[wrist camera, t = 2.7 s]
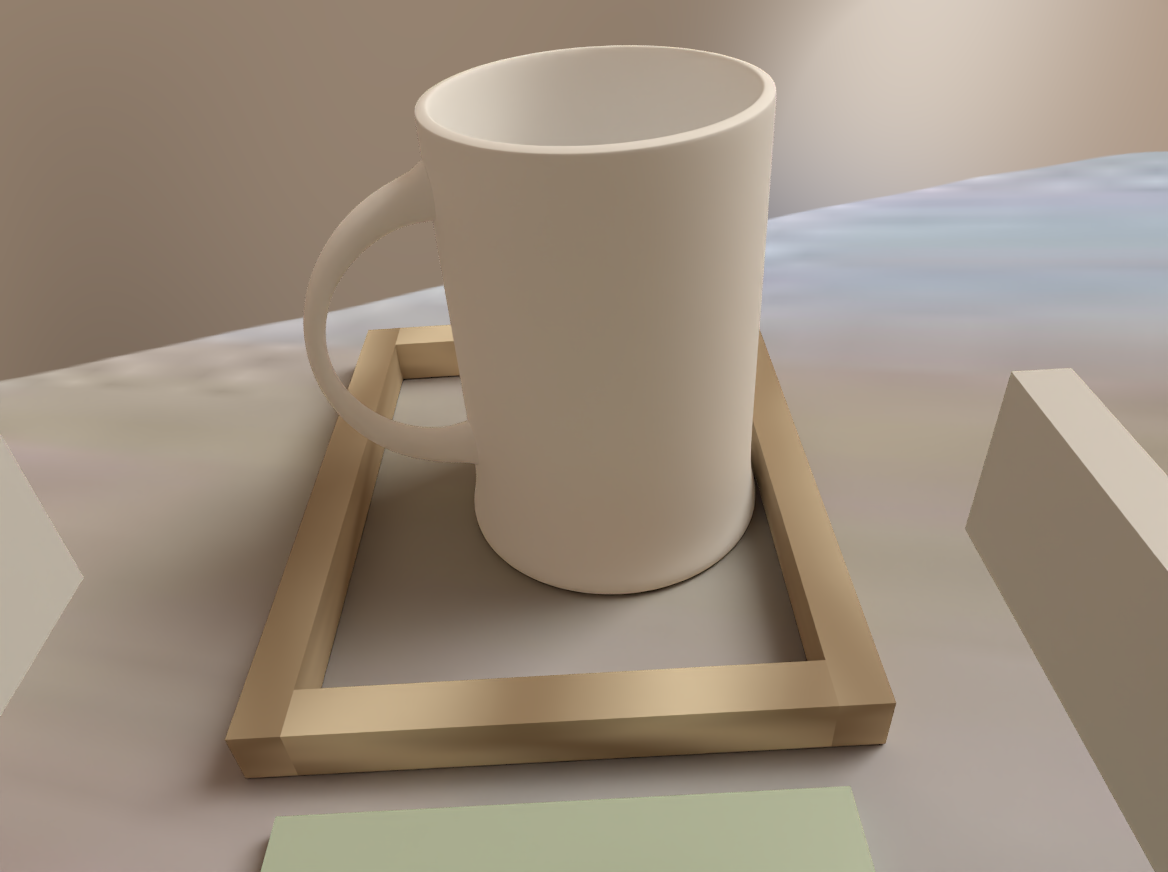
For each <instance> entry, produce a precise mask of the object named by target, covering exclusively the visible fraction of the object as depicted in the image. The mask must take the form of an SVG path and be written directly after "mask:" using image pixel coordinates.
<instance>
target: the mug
mask: <svg viewBox="0 0 1168 872" xmlns="http://www.w3.org/2000/svg"><path fill="white" fill-rule="evenodd" d="M775 109H776V86H775V83H774V81H773V80H772V78H771V77H770V76H769V75H768V74H767V73H765V72H764V71H763V70H761V69H759V68H758V67H756V66H754V65H752V64H750V63H747V62H745V61H742V60H739V59H736V58H733V57H729V56H725V55H721V54H717V53H712V52H707V51H700V50H694V49H686V48H677V47H663V46H639V45H637V46H636V45H630V46H629V45H625V46H623V45H621V46H595V47H581V48H570V49H561V50H553V51H546V52H540V53H533V54H527V55H522V56H517V57H512V58H508V59H503V60H499V61H495V62H491V63H488V64H484V65H481V66H478V67H475V68H472V69H469V70H466V71H463V72H461V73H458V74H456V75H454V76H452V77H449V78H447V79H445V80H443V81H441V82H439V83H438V84H436V85H434V86H433V87H431V88H430V89H429V90H427V91H426V92H425V93H424V94H423V95H422V96H421V97H420V98H419V99H418V101H417V103H416V106H415V109H414V116H415V123H416V130H417V136H418V141H419V147H420V152H421V158H422V161H419V162H418V163H417V164H416V166H415V167H414V168H412V169H411V170H410V171H408V172H407V173H405V174H403V175H402V176H400V177H398V178H396V179H394V180H393V181H391V182H389V183H388V184H386V185H385V186H383V187H381V188H379V189H378V190H377V191H375V192H374V193H372V194H371V195H370V196H368V197H367V198H366V199H365V200H363V201H362V202H361V203H360V204H359V205H357V207H355V208H354V209H353V210H352V211H351V212H350V213H349V214H348V215H347V216H346V217H345V218H344V220H343V221H342V222H341V223H340V224H339V225H338V227H337V228H336V229H335V231H334V232H333V234H332V235H331V236H330V238H329V239H328V241H327V242H326V244H325V246H324V248H323V249H322V251H321V253H320V255H319V257H318V259H317V261H316V264H315V266H314V269H313V271H312V274H311V277H310V280H309V284H308V288H307V292H306V297H305V305H304V319H303V324H304V339H305V345H306V351H307V355H308V359H309V362H310V366H311V368H312V371H313V374H314V376H315V378H316V381H317V383H318V385H319V387H320V389H321V390H322V392H323V394H324V395H325V397H326V398H327V400H328V401H329V403H330V404H331V406H332V407H333V408H334V409H335V411H336V412H337V413H338V414H339V415H340V416H341V417H342V418H343V419H344V420H345V421H346V422H347V423H348V424H349V425H350V426H351V427H353V428H354V429H355V430H356V431H358V432H359V433H360V434H362V435H363V436H365V437H366V438H368V439H369V440H371V441H373V442H374V443H376V444H378V445H380V446H382V447H384V448H386V449H389V450H391V451H394V452H396V453H399V454H402V455H405V456H409V457H413V458H417V459H422V460H428V461H436V462H454V463H471V464H475V469H476V486H475V496H474V504H475V513H476V517H477V521H478V524H479V527H480V529H481V531H482V533H483V535H484V537H485V539H486V540H487V542H488V543H489V545H490V546H491V547H492V548H493V550H494V551H495V552H496V553H497V554H498V555H499V556H500V557H501V558H502V559H503V560H505V561H506V562H507V563H508V564H510V565H511V566H512V567H514V568H515V569H517V570H518V571H520V572H522V573H523V574H525V575H527V576H529V577H531V578H533V579H535V580H538V581H540V582H543V583H545V584H548V585H551V586H555V587H558V588H562V589H566V590H571V591H576V592H583V593H592V594H628V593H637V592H644V591H649V590H654V589H658V588H662V587H666V586H669V585H672V584H675V583H678V582H681V581H683V580H686V579H688V578H690V577H693V576H695V575H697V574H699V573H700V572H702V571H704V570H706V569H707V568H709V567H711V566H712V565H713V564H715V563H716V562H718V561H719V560H720V559H721V558H723V557H724V556H725V555H726V554H727V553H728V552H729V551H730V550H731V549H732V548H733V547H734V546H735V545H736V544H737V542H738V541H739V540H740V539H741V537H742V536H743V534H744V532H745V531H746V529H747V527H748V525H749V523H750V520H751V518H752V514H753V511H754V506H755V496H756V492H755V481H754V476H753V472H752V468H751V438H752V422H753V408H754V394H755V380H756V367H757V353H758V340H759V326H760V313H761V299H762V286H763V272H764V259H765V245H766V232H767V218H768V204H769V191H770V178H771V164H772V150H773V138H774V124H775V123H774V122H775ZM427 221H433V225H434V232H435V238H436V243H437V249H438V255H439V260H440V266H441V271H442V277H443V282H444V289H445V294H446V300H447V306H448V311H449V317H450V323H451V328H452V334H453V340H454V345H455V351H456V357H457V362H458V368H459V374H460V379H461V385H462V391H463V396H464V402H465V408H466V413H467V419H468V421H465V422H461V423H458V424H455V425H450V426H445V427H419V426H412V425H407V424H403V423H399V422H396V421H393V420H390V419H388V418H386V417H383V416H381V415H379V414H377V413H375V412H374V411H372V410H370V409H369V408H367V407H366V406H364V405H363V404H362V403H361V402H359V401H358V400H357V399H356V398H355V397H354V396H353V395H352V394H351V393H350V392H349V391H348V390H347V389H346V388H345V386H344V385H343V384H342V382H341V381H340V379H339V378H338V376H337V374H336V373H335V371H334V369H333V366H332V364H331V361H330V358H329V355H328V351H327V345H326V319H327V313H328V309H329V305H330V302H331V299H332V296H333V294H334V291H335V289H336V287H337V285H338V283H339V282H340V280H341V278H342V277H343V275H344V274H345V272H346V271H347V269H348V268H349V267H350V266H351V264H352V263H353V262H354V261H355V260H356V259H357V258H358V257H359V255H361V254H362V252H364V251H365V250H366V249H367V248H368V247H370V246H371V245H372V244H374V243H375V242H376V241H378V240H379V239H380V238H382V237H384V236H385V235H387V234H389V233H391V232H393V231H395V230H397V229H400V228H403V227H405V226H409V225H413V224H417V223H422V222H427Z"/></svg>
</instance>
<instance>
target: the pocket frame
mask: <svg viewBox="0 0 1168 872" xmlns="http://www.w3.org/2000/svg"><path fill="white" fill-rule="evenodd" d="M457 375H460V374H459V368H458V362H457V357H456V351H455V345H454V340H453V334H452V328H451V325H441V326H425V327H409V328H394V329H378V330H368V333H367V336H366V339H365V342H364V345H363V347H362V350H361V353H360V356H359V359H358V362H357V365H356V367H355V370H354V373H353V376H352V379H351V382H350V384H349V387H348V391H349V392H350V393H351V394H352V395H353V396H354V397H355V398H356V399H357V400H358V401H359V402H361V403H362V404H363V405H364V406H366V407H367V408H369V409H370V410H372V411H374V412H375V413H377V414H379V415H381V416H383V417H386V418H388V419H390V420H392V419H393V415H394V411H395V407H396V404H397V400H398V396H399V392H400V388H401V385H402V381H403V379H409V378H425V377H441V376H457ZM384 449H385V448H384V447H382V446H380V445H378V444H376V443H374V442H373V441H371V440H369V439H368V438H366V437H365V436H363V435H362V434H360V433H359V432H358V431H356V430H355V429H354V428H353V427H351V426H350V425H349V424H348V423H347V422H346V421H345V420H344V419H343V418H342V417H341V416H340V415H339V416H338V419H337V422H336V424H335V427H334V430H333V433H332V436H331V439H330V441H329V444H328V447H327V450H326V453H325V456H324V459H323V461H322V464H321V467H320V470H319V473H318V476H317V479H316V481H315V484H314V487H313V490H312V493H311V496H310V498H309V501H308V504H307V507H306V510H305V513H304V516H303V518H302V521H301V524H300V527H299V530H298V533H297V535H296V538H295V541H294V544H293V547H292V550H291V553H290V555H289V558H288V561H287V564H286V567H285V570H284V573H283V575H282V578H281V581H280V584H279V587H278V590H277V592H276V595H275V598H274V601H273V604H272V607H271V610H270V612H269V615H268V618H267V621H266V624H265V627H264V630H263V632H262V635H261V638H260V641H259V644H258V647H257V649H256V652H255V655H254V658H253V661H252V664H251V667H250V669H249V672H248V675H247V678H246V681H245V684H244V687H243V689H242V692H241V695H240V698H239V701H238V704H237V706H236V709H235V712H234V715H233V718H232V721H231V724H230V726H229V729H228V732H227V735H226V738H225V741H226V743H227V745H228V747H229V748H230V750H231V752H232V754H233V756H234V758H235V760H236V761H237V763H238V765H239V767H240V769H241V771H242V772H243V774H244V776H245V778H258V777H277V776H295V775H314V774H332V773H351V772H369V771H388V770H406V769H425V768H443V767H462V766H480V765H499V764H517V763H536V762H554V761H572V760H591V759H609V758H628V757H646V756H665V755H683V754H702V753H720V752H739V751H757V750H776V749H794V748H813V747H831V746H850V745H868V744H885V743H886V739H887V736H888V732H889V728H890V724H891V721H892V717H893V713H894V709H895V706H896V701H895V698H894V696H893V693H892V690H891V687H890V685H889V682H888V679H887V676H886V674H885V671H884V668H883V665H882V663H881V660H880V657H879V655H878V652H877V649H876V646H875V644H874V641H873V638H872V635H871V633H870V630H869V627H868V624H867V622H866V619H865V616H864V614H863V611H862V608H861V605H860V603H859V600H858V597H857V594H856V592H855V589H854V586H853V583H852V581H851V578H850V575H849V572H848V570H847V567H846V564H845V562H844V559H843V556H842V553H841V551H840V548H839V545H838V542H837V540H836V537H835V534H834V531H833V529H832V526H831V523H830V521H829V518H828V515H827V512H826V510H825V507H824V504H823V501H822V499H821V496H820V493H819V490H818V488H817V485H816V482H815V479H814V477H813V474H812V471H811V469H810V466H809V463H808V460H807V458H806V455H805V452H804V449H803V447H802V444H801V441H800V438H799V436H798V433H797V430H796V428H795V425H794V422H793V419H792V417H791V414H790V411H789V408H788V406H787V403H786V400H785V397H784V395H783V392H782V389H781V387H780V384H779V381H778V378H777V376H776V373H775V370H774V367H773V365H772V362H771V359H770V356H769V354H768V351H767V348H766V345H765V343H764V340H763V337H762V335H761V332H760V329H759V340H758V353H757V367H756V380H755V394H754V408H753V422H752V438H751V463H752V467H753V470H754V474H755V477H756V481H757V484H758V488H759V491H760V495H761V499H762V502H763V506H764V509H765V513H766V516H767V520H768V523H769V527H770V530H771V534H772V538H773V541H774V545H775V548H776V552H777V555H778V559H779V562H780V566H781V570H782V573H783V577H784V580H785V584H786V587H787V591H788V594H789V598H790V601H791V605H792V609H793V612H794V616H795V619H796V623H797V626H798V630H799V633H800V637H801V641H802V644H803V648H804V651H805V655H806V658H807V661H801V662H783V663H765V664H747V665H729V666H711V667H693V668H676V669H658V670H640V671H622V672H604V673H586V674H568V675H550V676H533V677H515V678H497V679H479V680H461V681H443V682H425V683H408V684H390V685H372V686H354V687H336V688H321V687H322V684H323V680H324V676H325V672H326V668H327V665H328V661H329V657H330V653H331V650H332V646H333V642H334V638H335V634H336V631H337V627H338V623H339V619H340V616H341V612H342V608H343V604H344V600H345V597H346V593H347V589H348V585H349V581H350V578H351V574H352V570H353V566H354V563H355V559H356V555H357V551H358V547H359V544H360V540H361V536H362V532H363V528H364V525H365V521H366V517H367V513H368V510H369V506H370V502H371V498H372V494H373V491H374V487H375V483H376V479H377V475H378V472H379V468H380V464H381V460H382V457H383V453H384Z"/></svg>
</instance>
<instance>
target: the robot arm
mask: <svg viewBox="0 0 1168 872" xmlns="http://www.w3.org/2000/svg"><path fill="white" fill-rule="evenodd" d="M965 529H966V531H967V533H968V535H969V537H970V539H971V540H972V542H973V544H974V546H975V548H976V549H977V551H978V553H979V555H980V557H981V558H982V560H983V562H984V564H985V566H986V567H987V569H988V571H989V573H990V575H991V576H992V578H993V580H994V582H995V584H996V586H997V587H998V589H999V591H1000V593H1001V595H1002V596H1003V598H1004V600H1005V602H1006V604H1007V605H1008V607H1009V609H1010V611H1011V613H1012V614H1013V616H1014V618H1015V620H1016V622H1017V623H1018V625H1019V627H1020V629H1021V631H1022V633H1023V634H1024V636H1025V638H1026V640H1027V642H1028V643H1029V645H1030V647H1031V649H1032V651H1033V652H1034V654H1035V656H1036V658H1037V660H1038V661H1039V663H1040V665H1041V667H1042V669H1043V670H1044V672H1045V674H1046V676H1047V678H1048V680H1049V681H1050V683H1051V685H1052V687H1053V689H1054V690H1055V692H1056V694H1057V696H1058V698H1059V699H1060V701H1061V703H1062V705H1063V707H1064V708H1065V710H1066V712H1067V714H1068V716H1069V717H1070V719H1071V721H1072V723H1073V725H1074V726H1075V728H1076V730H1077V732H1078V734H1079V736H1080V737H1081V739H1082V741H1083V743H1084V745H1085V746H1086V748H1087V750H1088V752H1089V754H1090V755H1091V757H1092V759H1093V761H1094V763H1095V764H1096V766H1097V768H1098V770H1099V772H1100V773H1101V775H1102V777H1103V779H1104V781H1105V783H1106V784H1107V786H1108V788H1109V790H1110V792H1111V793H1112V795H1113V797H1114V799H1115V801H1116V802H1117V804H1118V806H1119V808H1120V810H1121V811H1122V813H1123V815H1124V817H1125V819H1126V820H1127V822H1128V824H1129V826H1130V828H1131V830H1132V831H1133V833H1134V835H1135V837H1136V839H1137V840H1138V842H1139V844H1140V846H1141V848H1142V849H1143V851H1144V853H1145V855H1146V857H1147V858H1148V860H1149V862H1150V864H1151V866H1152V867H1153V869H1154V871H1155V872H1168V476H1167V475H1166V474H1165V472H1164V471H1163V470H1162V469H1161V468H1160V467H1159V466H1158V465H1157V463H1156V462H1155V461H1154V460H1153V459H1152V458H1151V457H1150V456H1149V455H1148V453H1147V452H1146V451H1145V450H1144V449H1143V448H1142V447H1141V446H1140V444H1139V443H1138V442H1137V441H1136V440H1135V439H1134V438H1133V437H1132V435H1131V434H1130V433H1129V432H1128V431H1127V430H1126V429H1125V428H1124V426H1123V425H1122V424H1121V423H1120V422H1119V421H1118V420H1117V419H1116V417H1115V416H1114V415H1113V414H1112V413H1111V412H1110V411H1109V410H1108V409H1107V407H1106V406H1105V405H1104V404H1103V403H1102V402H1101V401H1100V400H1099V398H1098V397H1097V396H1096V395H1095V394H1094V393H1093V392H1092V391H1091V389H1090V388H1089V387H1088V386H1087V385H1086V384H1085V383H1084V382H1083V380H1082V379H1081V378H1080V377H1079V376H1078V375H1077V374H1076V373H1075V372H1074V370H1073V369H1072V368H1064V369H1046V370H1029V371H1012V372H1011V375H1010V378H1009V382H1008V385H1007V388H1006V392H1005V395H1004V398H1003V402H1002V405H1001V409H1000V412H999V415H998V419H997V422H996V426H995V429H994V432H993V436H992V439H991V442H990V446H989V449H988V453H987V456H986V459H985V463H984V466H983V470H982V473H981V476H980V480H979V483H978V487H977V490H976V493H975V497H974V500H973V503H972V507H971V510H970V514H969V517H968V520H967V524H966V527H965ZM83 578H84V577H83V575H82V574H81V572H80V570H79V568H78V567H77V565H76V563H75V561H74V560H73V558H72V556H71V555H70V553H69V551H68V549H67V548H66V546H65V544H64V542H63V541H62V539H61V537H60V536H59V534H58V532H57V530H56V529H55V527H54V525H53V523H52V522H51V520H50V518H49V517H48V515H47V513H46V511H45V510H44V508H43V506H42V505H41V503H40V501H39V499H38V498H37V496H36V494H35V492H34V491H33V489H32V487H31V486H30V484H29V482H28V480H27V479H26V477H25V475H24V473H23V472H22V470H21V468H20V467H19V465H18V463H17V461H16V460H15V458H14V456H13V455H12V453H11V451H10V449H9V448H8V446H7V444H6V442H5V441H4V439H3V437H2V436H1V434H0V716H1V715H2V713H3V711H4V710H5V708H6V706H7V705H8V703H9V701H10V700H11V698H12V696H13V695H14V693H15V691H16V690H17V688H18V686H19V685H20V683H21V681H22V680H23V678H24V676H25V675H26V673H27V671H28V670H29V668H30V666H31V665H32V663H33V661H34V660H35V658H36V656H37V655H38V653H39V651H40V650H41V648H42V646H43V645H44V643H45V641H46V640H47V638H48V636H49V635H50V633H51V631H52V630H53V628H54V626H55V625H56V623H57V621H58V620H59V618H60V616H61V615H62V613H63V611H64V610H65V608H66V606H67V605H68V603H69V601H70V600H71V598H72V596H73V595H74V593H75V591H76V590H77V588H78V586H79V585H80V583H81V581H82V580H83Z"/></svg>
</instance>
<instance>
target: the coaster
mask: <svg viewBox="0 0 1168 872" xmlns="http://www.w3.org/2000/svg"><path fill="white" fill-rule="evenodd" d="M261 872H875V869H874V865H873V862H872V858H871V855H870V852H869V848H868V845H867V841H866V838H865V834H864V831H863V827H862V824H861V820H860V817H859V814H858V810H857V807H856V803H855V800H854V796H853V793H852V789H851V786H843V787H824V788H805V789H786V790H767V791H748V792H730V793H711V794H692V795H673V796H654V797H636V798H617V799H598V800H579V801H560V802H542V803H523V804H504V805H485V806H466V807H448V808H429V809H410V810H391V811H372V812H354V813H335V814H316V815H297V816H278V817H275V821H274V824H273V828H272V832H271V835H270V839H269V843H268V846H267V850H266V854H265V857H264V861H263V864H262V868H261Z"/></svg>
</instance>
